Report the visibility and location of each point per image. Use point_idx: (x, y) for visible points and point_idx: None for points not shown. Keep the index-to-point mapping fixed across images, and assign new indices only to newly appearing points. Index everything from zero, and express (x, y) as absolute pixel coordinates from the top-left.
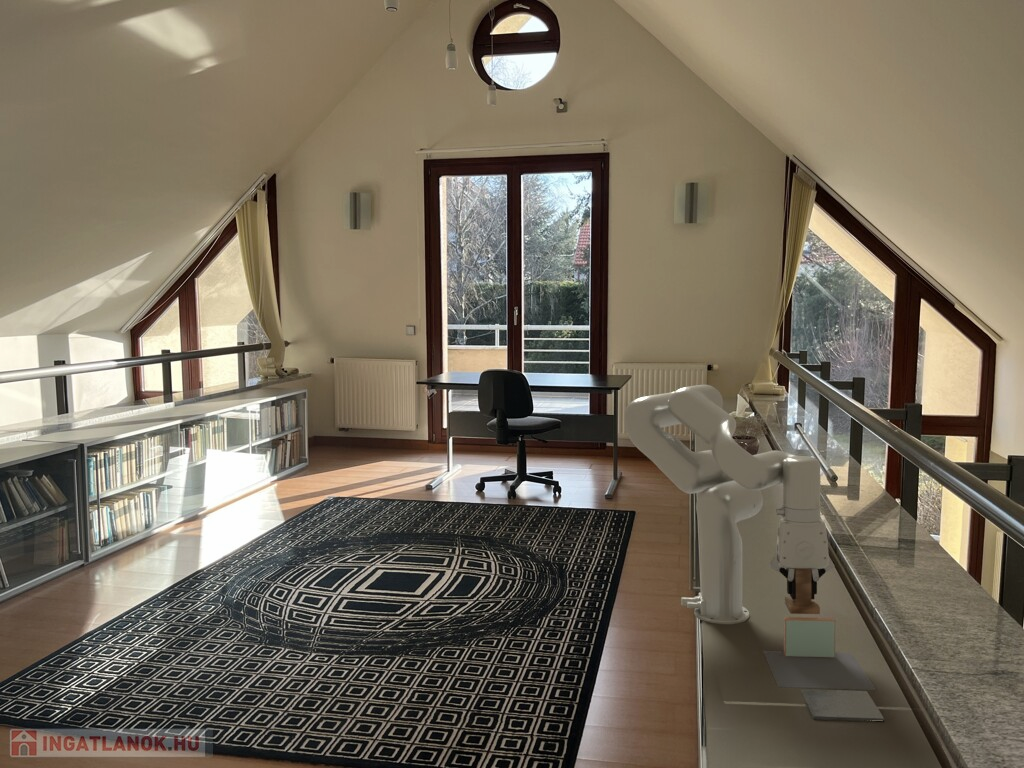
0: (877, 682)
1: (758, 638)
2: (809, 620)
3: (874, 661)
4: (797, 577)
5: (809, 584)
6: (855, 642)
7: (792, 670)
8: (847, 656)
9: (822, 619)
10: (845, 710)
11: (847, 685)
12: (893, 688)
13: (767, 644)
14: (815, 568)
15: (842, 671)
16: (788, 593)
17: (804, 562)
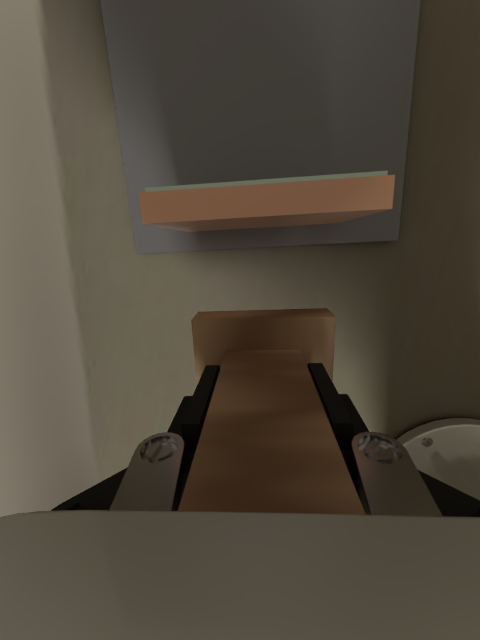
0: (89, 66)
1: (379, 345)
2: (265, 184)
3: (84, 222)
4: (323, 447)
5: (222, 408)
6: (120, 340)
7: (339, 87)
8: (151, 226)
9: (199, 198)
10: None
11: None
12: (48, 26)
13: (363, 306)
14: (114, 510)
15: (180, 108)
16: (345, 394)
17: (282, 636)
